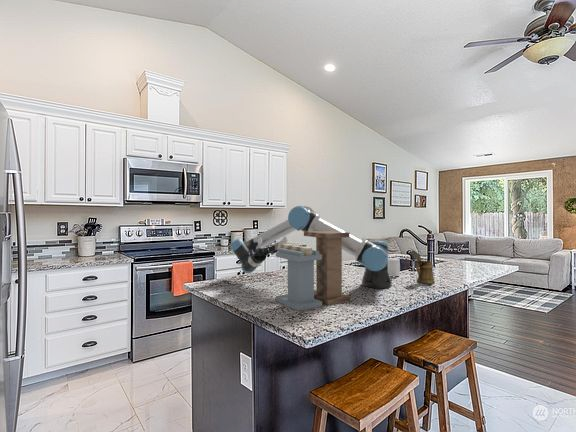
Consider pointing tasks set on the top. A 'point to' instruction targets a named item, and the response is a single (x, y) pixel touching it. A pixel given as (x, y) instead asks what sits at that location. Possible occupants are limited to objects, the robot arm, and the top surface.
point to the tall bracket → (329, 266)
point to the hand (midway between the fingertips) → (273, 239)
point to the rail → (294, 248)
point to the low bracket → (299, 280)
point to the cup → (394, 266)
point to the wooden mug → (423, 269)
